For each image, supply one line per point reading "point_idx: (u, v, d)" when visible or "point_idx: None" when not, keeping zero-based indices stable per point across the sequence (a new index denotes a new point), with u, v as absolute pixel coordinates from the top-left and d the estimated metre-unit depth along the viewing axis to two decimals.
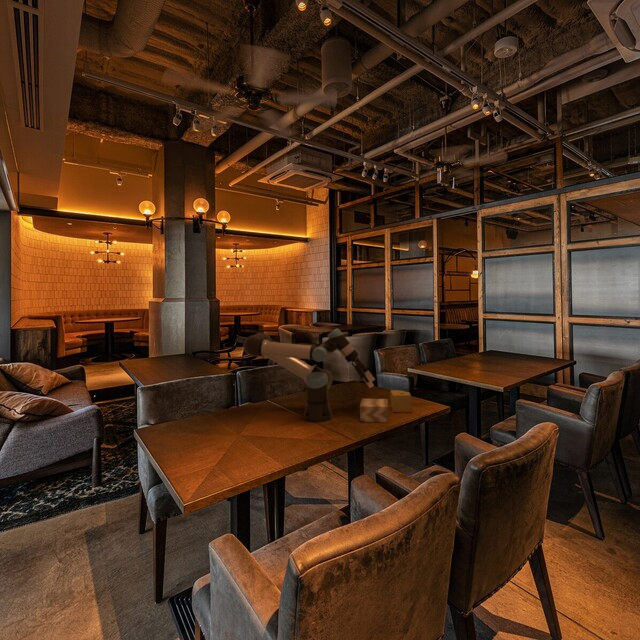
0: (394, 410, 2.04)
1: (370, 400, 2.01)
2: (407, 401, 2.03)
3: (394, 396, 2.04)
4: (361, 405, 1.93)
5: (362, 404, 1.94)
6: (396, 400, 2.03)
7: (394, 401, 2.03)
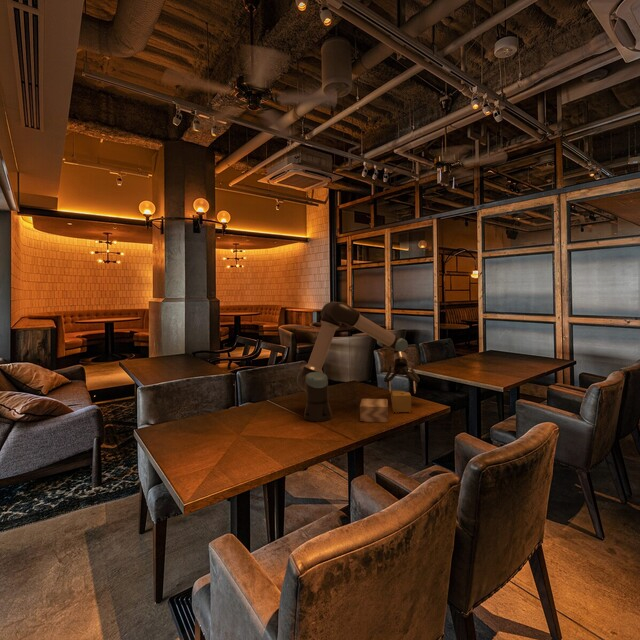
0: (394, 410, 2.03)
1: (370, 400, 2.01)
2: (407, 401, 2.02)
3: (394, 396, 2.03)
4: (361, 405, 1.93)
5: (362, 404, 1.94)
6: (396, 400, 2.03)
7: (394, 401, 2.03)
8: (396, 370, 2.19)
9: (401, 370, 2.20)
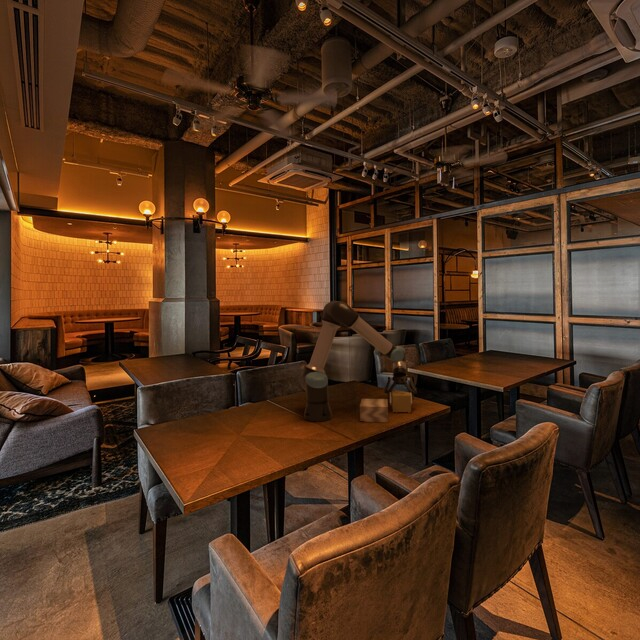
0: (394, 410, 2.03)
1: (370, 400, 2.01)
2: (407, 401, 2.02)
3: (394, 396, 2.03)
4: (361, 405, 1.93)
5: (362, 404, 1.94)
6: (396, 400, 2.03)
7: (394, 401, 2.03)
8: (395, 380, 2.14)
9: (400, 380, 2.14)
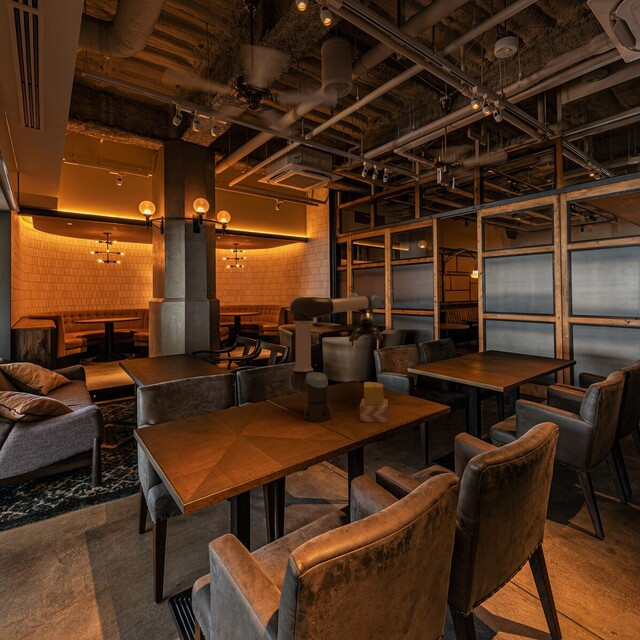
0: (365, 403, 1.92)
1: None
2: (379, 393, 1.91)
3: (365, 388, 1.91)
4: (361, 405, 1.93)
5: (362, 404, 1.94)
6: (367, 392, 1.91)
7: (365, 393, 1.91)
8: (361, 330, 2.24)
9: (366, 330, 2.25)
